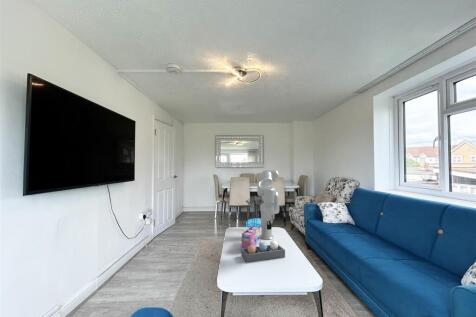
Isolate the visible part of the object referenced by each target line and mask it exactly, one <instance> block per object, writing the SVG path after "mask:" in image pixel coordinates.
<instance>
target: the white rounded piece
mask: <svg viewBox="0 0 476 317" xmlns="http://www.w3.org/2000/svg"><path fill="white" fill-rule="evenodd" d="M269 245H270V250H271V251H275V250H278V245H279V244H278V241H276V240H272V241H270V242H269Z"/></svg>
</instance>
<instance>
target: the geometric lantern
mask: <svg viewBox="0 0 476 317" xmlns="http://www.w3.org/2000/svg"><path fill="white" fill-rule="evenodd" d="M253 201H254V202H253ZM245 203H247V204H248V207H247V213H249V212H250V211H251V208H252V212H253V214H252V216H251V223H249V215H247V217H246V226H247V228H248V229H249V228H251V227H253V226H254V227H257V228H259V227H260V228H261V223H258V215H257V214H258V212H257V211H259V210H260V206H261V204H263V203H264V201H263V200H262V198H259V197H258V196H256V195H255V196H252V197H250V198H248V199H247V200H245ZM254 205H255V206H254ZM255 208H256V209H255ZM255 222H256V223H255ZM250 225H251V226H250ZM255 225H256V226H255ZM258 225H259V226H258Z"/></svg>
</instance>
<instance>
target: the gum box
mask: <svg viewBox="0 0 476 317" xmlns="http://www.w3.org/2000/svg"><path fill="white" fill-rule="evenodd" d="M257 227H259V228H257ZM260 235H261V227H260V226H255V227H254V226H253V227H252V226H251V228H250V227H249V228H248V229H247V230H245V231H243V232H242V233H241V248H248V246H250V245H253V246H255V247H258V246H259V243H261V242H262V241H261V238H260Z"/></svg>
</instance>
